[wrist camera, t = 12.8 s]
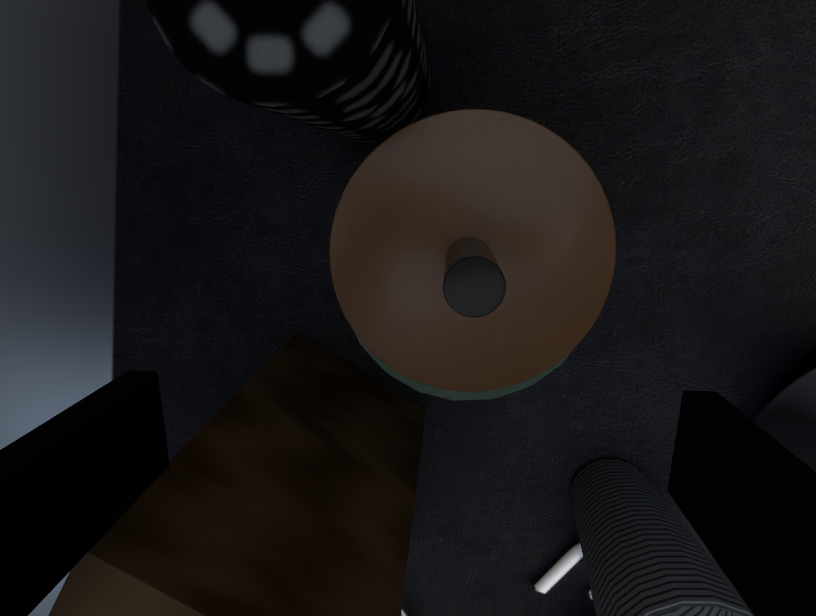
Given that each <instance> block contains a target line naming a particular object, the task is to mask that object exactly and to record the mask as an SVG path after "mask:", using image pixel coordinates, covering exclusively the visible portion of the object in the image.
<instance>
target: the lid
mask: <svg viewBox="0 0 816 616" xmlns="http://www.w3.org/2000/svg"><path fill="white" fill-rule="evenodd" d="M615 261H616V234H615V227H614V220H613V216H612V212H611V209H610V206H609V202H608V199H607V197H606V195H605V192H604V190H603V188H602V186H601V183H600V182H599V180H598V178H597V177H596V175H595V174H594V172H593V170H592V169H591V167H590V166H589V165H588V163H587V162H586V161H585V160H584V159H583V157H582V156H581V155H580V154H579V153H578V152H577V150H575V149H574V148H573V147H572V146H571V145H570V144H569V143H567V142H566V141H565V140H564V139H563V138H562V137H560V136H559V135H557V134H556V133H554V132H553V131H551V130H550V129H548V128H547V127H545V126H543V125H541V124H539V123H536V122H534V121H532V120H530V119H528V118H525V117H522V116H518V115H515V114H512V113H509V112H503V111H497V110H490V109H462V110H454V111H447V112H443V113H439V114H435V115H432V116H428V117H426V118H423V119H421V120H418V121H416V122H414V123H411V124H409V125H407V126H406V127H404V128H402V129H401V130H399V131H397V132H395V133H394V134H392V135H391V136H390V137H388V138H387V139H386V140H385V141H383V142H382V143H381V144H380V145H378V146H377V147H376V148H375V149H374V150H373V151H372V152H371V153H370V154H369V155H368V156H367V157H366V158H365V159H364V161H363V162H362V163H361V165H360V166H359V167H358V169H357V170H356V171H355V173H354V174H353V175H352V177H351V179H350V181H349V182H348V184H347V186H346V188H345V189H344V191H343V194H342V196H341V199H340V201H339V204H338V206H337V209H336V212H335V216H334V220H333V224H332V229H331V237H330V269H331V276H332V282H333V286H334V289H335V293H336V296H337V299H338V302H339V304H340V306H341V309H342V311H343V314H344V316H345V317H346V319H347V321H348V322H349V324H350V326H351V328H352V329H353V331H354V332H355V333H356V335H357V336H358V337H359V339H360V340H361V341H362V343H363V344H364V345H365V346H366V347H367V348H368V349H369V350H370V351H371V352H372V353H373V354H374V355H375V356H376V357H378V358H379V359H380V360H381V361H383V362H384V363H385V364H386V365H388V366H389V367H391V368H392V369H394V370H396V371H397V372H399V373H400V374H402V375H404V376H406V377H408V378H411V379H413V380H415V381H417V382H419V383H423V384H426V385H429V386H432V387H435V388H441V389H446V390H452V391H466V392H475V391H489V390H494V389H500V388H505V387H508V386H512V385H515V384H518V383H521V382H524V381H526V380H528V379H530V378H533V377H535V376H537V375H539V374H541V373H542V372H544V371H546V370H547V369H549V368H551V367H552V366H554V365H555V364H556V363H558V362H559V361H560V360H562V359H563V358H564V357H565V356H567V355H568V354H569V353H570V352H571V351H572V350H573V349H574V348H575V347H576V346H577V345H578V344H579V343H580V342H581V341H582V339H583V338H584V337H585V335H586V334H587V333H588V331H589V330H590V329H591V328H592V326H593V324H594V323H595V321H596V319H597V317H598V316H599V314H600V312H601V310H602V308H603V306H604V303H605V301H606V299H607V296H608V294H609V290H610V287H611V283H612V279H613V276H614V268H615Z"/></svg>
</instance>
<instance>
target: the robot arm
mask: <svg viewBox="0 0 816 616" xmlns="http://www.w3.org/2000/svg"><path fill="white" fill-rule="evenodd" d="M169 466H170V465H169V458H168V450H167V442H166V434H165V426H164V418H163V410H162V403H161V395H160V387H159V379H158V371H137V370H129V371H127V372H125V373H124V374H122V375H121V376H119V377H117V378H116V379H114V380H112V381H111V382H109V383H108V384H106V385H105V386H103V387H101V388H100V389H98V390H96V391H95V392H93V393H92V394H90V395H88V396H87V397H85V398H83V399H82V400H80V401H79V402H77V403H75V404H74V405H72V406H71V407H69V408H67V409H66V410H64V411H63V412H61V413H59V414H58V415H56V416H54V417H53V418H51V419H50V420H48V421H46V422H45V423H43V424H42V425H40V426H38V427H37V428H35V429H34V430H32V431H30V432H29V433H27V434H25V435H24V436H22V437H21V438H19V439H18V440H16V441H14V442H13V443H11V444H9V445H8V446H6V447H4V448H3V449H1V450H0V616H28V615H29V614H30V613H31V612H32V611H33V610H34V609H35V607H36V606H37V605H38V604H39V603H40V602H41V601H42V600H43V599H44V598H45V597H46V596H47V595H48V594H49V593H50V592H51V591H52V590H53V588H54V587H55V586H56V585H57V584H58V583H59V582H60V581H61V580H62V579H63V578H64V577H65V576H66V575H67V574H68V572H70V571H71V569H72V568H73V567H74V566H75V565H76V564H77V563H78V562H79V561H80V560H81V559H82V558H83V557H84V556H85V555H86V554H87V553H88V551H89V550H90V549H91V548H92V547H93V546H94V545H95V544H96V543H97V542H98V541H99V540H100V539H101V538H102V537H103V536H104V535H105V534H106V532H107V531H108V530H109V529H110V528H111V527H112V526H113V525H114V524H115V523H116V522H117V521H118V520H119V519H120V518H121V517H122V516H123V515H124V513H125V512H126V511H127V510H128V509H129V508H130V507H131V506H132V505H133V504H134V503H135V502H136V501H137V500H138V499H139V498H140V497H141V496H142V494H143V493H144V492H145V491H146V490H147V489H148V488H149V487H150V486H151V485H152V484H153V483H154V482H155V481H156V480H157V479H158V478H159V476H160V475H161V474H162V473H163V472H164V471H165V470H166V469H167V468H168V467H169ZM667 491H668V492H669V494H670V495H671V497H672V498H673V500H674V501H675V503H676V504H677V505H678V507H679V508H680V510H681V511H682V513H683V514H684V516H685V517H686V518H687V520H688V521H689V523H690V524H691V526H692V527H693V528H694V530H695V531H696V533H697V534H698V536H699V537H700V539H701V540H702V541H703V543H704V544H705V546H706V547H707V549H708V550H709V551H710V553H711V554H712V556H713V557H714V559H715V560H716V562H717V563H718V564H719V566H720V567H721V569H722V570H723V572H724V573H725V575H726V576H727V577H728V579H729V580H730V582H731V583H732V585H733V586H734V587H735V589H736V590H737V592H738V593H739V595H740V596H741V598H742V599H743V600H744V602H745V603H746V605H747V606H748V608H749V609H750V610H751V612H752V613H753V615H754V616H816V472H815V471H814V470H812V469H811V468H810V467H808V466H807V465H806V464H805V463H804V462H802V461H801V460H800V459H799V458H797V457H796V456H795V455H794V454H793V453H791V452H790V451H789V450H788V449H786V448H785V447H784V446H783V445H781V444H780V443H779V442H778V441H777V440H775V439H774V438H773V437H771V436H770V435H769V434H768V433H767V432H765V431H764V430H763V429H762V428H760V427H759V426H758V425H757V424H756V423H754V422H753V421H752V420H751V419H749V418H748V417H747V416H746V415H744V414H743V413H742V412H741V411H739V410H738V409H737V408H736V407H735V406H733V405H732V404H731V403H730V402H728V401H727V400H726V399H725V398H723V397H722V396H721V395H720V394H719V393H717V392H707V391H683V396H682V402H681V408H680V415H679V421H678V427H677V433H676V440H675V446H674V452H673V458H672V465H671V471H670V477H669V483H668V490H667Z"/></svg>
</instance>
